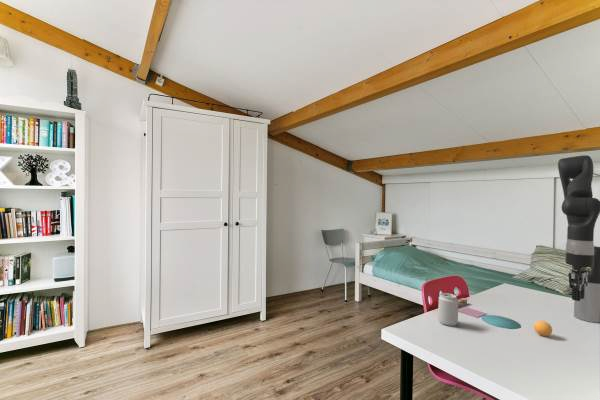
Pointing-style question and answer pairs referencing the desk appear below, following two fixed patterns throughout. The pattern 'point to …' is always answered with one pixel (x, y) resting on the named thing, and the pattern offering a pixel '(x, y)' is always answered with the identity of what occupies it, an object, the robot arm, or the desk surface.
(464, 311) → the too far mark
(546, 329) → the ball
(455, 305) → the can
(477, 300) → the desk surface
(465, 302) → the stopper
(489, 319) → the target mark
